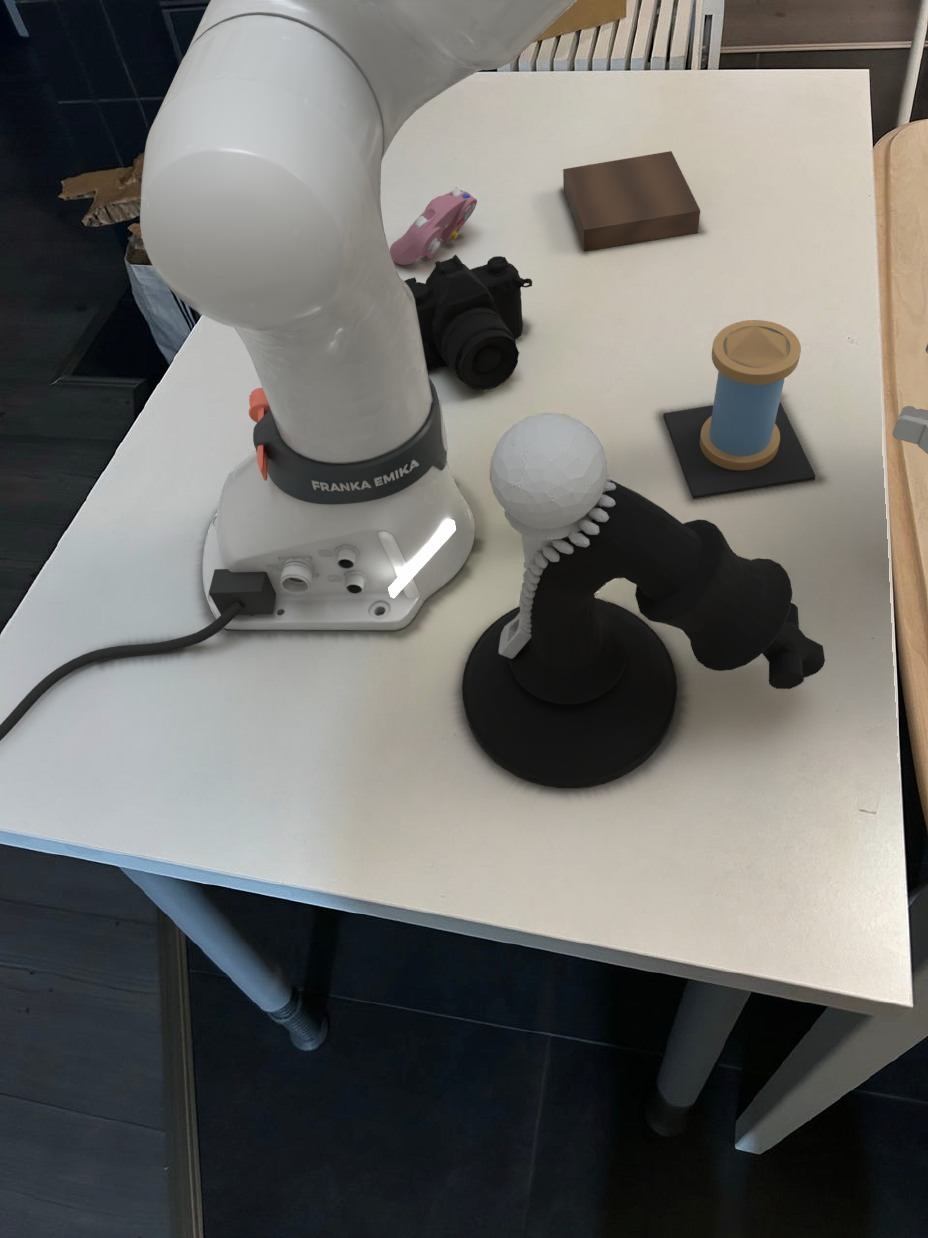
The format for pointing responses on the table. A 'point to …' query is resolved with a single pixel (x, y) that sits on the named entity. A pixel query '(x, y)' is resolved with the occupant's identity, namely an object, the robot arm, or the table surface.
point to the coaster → (719, 480)
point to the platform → (630, 201)
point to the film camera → (471, 319)
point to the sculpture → (609, 614)
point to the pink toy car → (434, 227)
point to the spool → (748, 393)
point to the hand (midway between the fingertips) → (913, 377)
